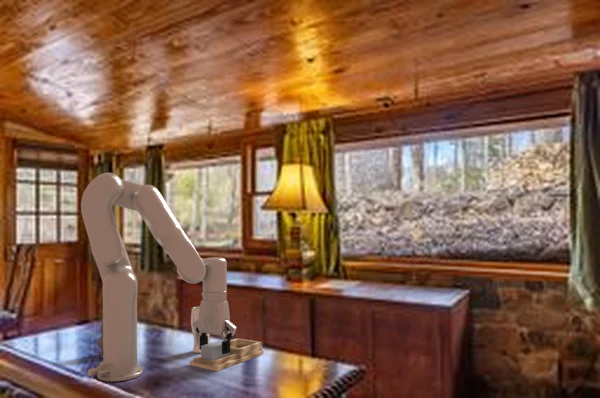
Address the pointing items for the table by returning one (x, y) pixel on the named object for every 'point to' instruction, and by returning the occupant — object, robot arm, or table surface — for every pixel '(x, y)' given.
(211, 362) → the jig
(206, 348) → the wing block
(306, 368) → the table surface
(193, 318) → the beer glass
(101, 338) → the cat figurine
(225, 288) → the robot arm
